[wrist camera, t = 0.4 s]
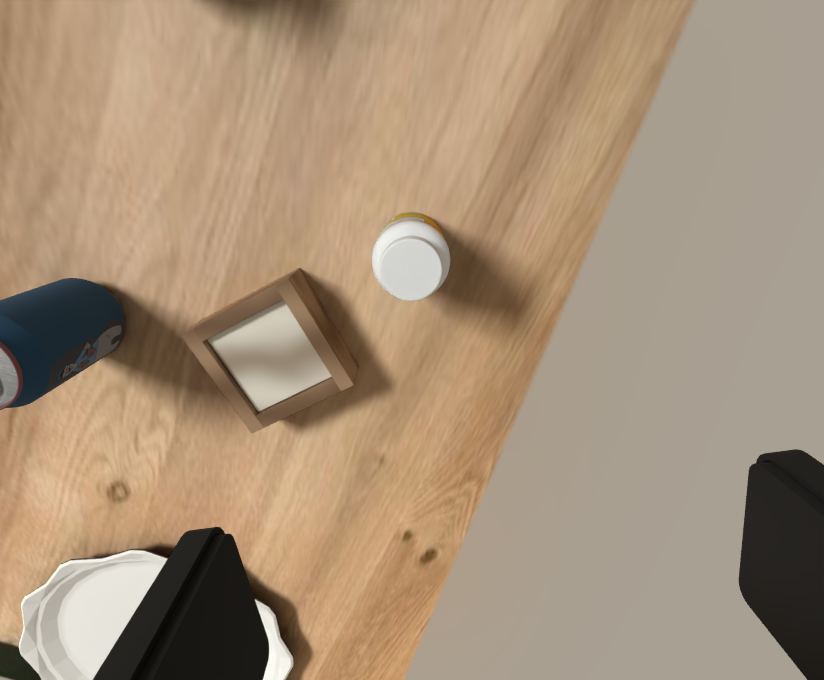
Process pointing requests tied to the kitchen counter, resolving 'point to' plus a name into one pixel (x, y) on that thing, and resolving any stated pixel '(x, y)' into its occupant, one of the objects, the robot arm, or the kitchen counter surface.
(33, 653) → the plate
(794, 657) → the robot arm
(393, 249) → the supplement bottle
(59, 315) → the soda can
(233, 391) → the picture frame
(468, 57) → the kitchen counter surface
